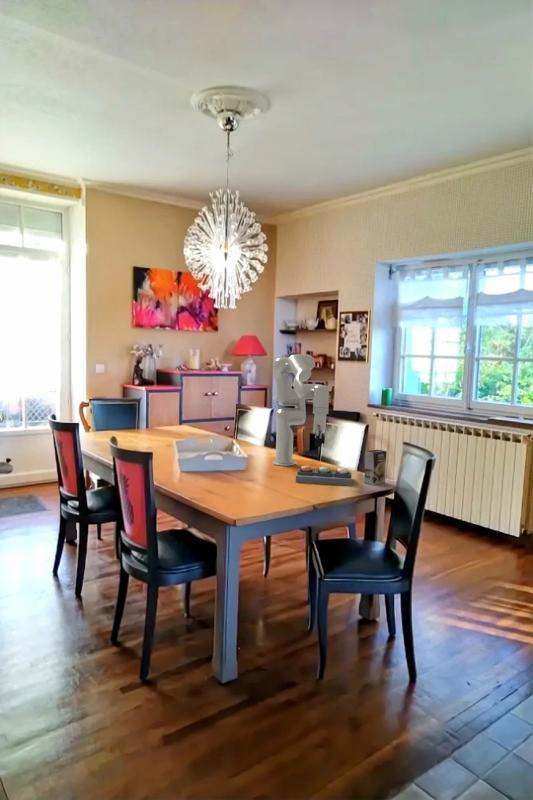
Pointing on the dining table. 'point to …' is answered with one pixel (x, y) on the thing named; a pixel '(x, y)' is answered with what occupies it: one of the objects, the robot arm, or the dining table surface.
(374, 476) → the coffee box
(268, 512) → the dining table surface
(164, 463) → the dining table surface
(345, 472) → the cream button
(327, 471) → the sage button
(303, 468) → the terracotta button
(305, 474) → the button panel
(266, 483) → the dining table surface
